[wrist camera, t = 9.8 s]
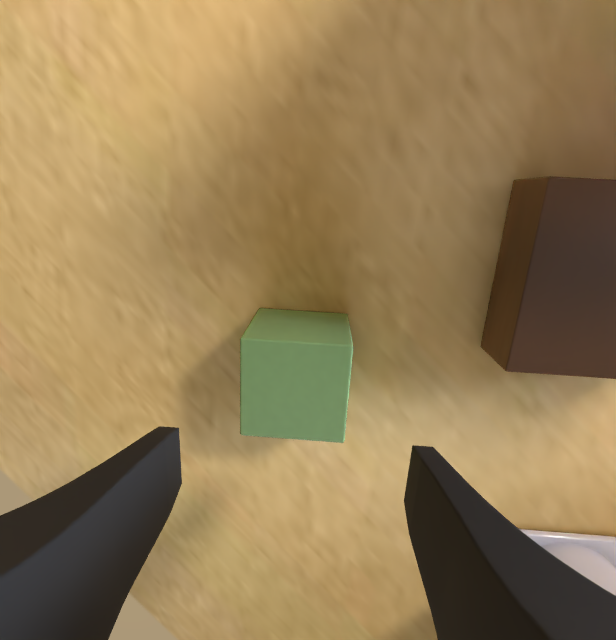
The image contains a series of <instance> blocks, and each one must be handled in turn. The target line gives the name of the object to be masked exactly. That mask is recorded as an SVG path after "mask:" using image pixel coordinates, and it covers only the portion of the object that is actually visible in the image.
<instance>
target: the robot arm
mask: <svg viewBox="0 0 616 640" xmlns="http://www.w3.org/2000/svg"><path fill="white" fill-rule="evenodd" d="M181 484H182V478H181V459H180V440H179V428H174V427H158V428H156V429H154V430H153V431H151V432H150V433H148V434H146V435H145V436H143V437H142V438H140V439H139V440H137V441H136V442H134V443H133V444H131V445H130V446H128V447H127V448H125V449H124V450H122V451H120V452H119V453H117V454H116V455H114V456H113V457H111V458H110V459H108V460H106V461H105V462H103V463H102V464H100V465H98V466H97V467H95V468H93V469H91V470H90V471H88V472H86V473H85V474H83V475H81V476H80V477H78V478H76V479H75V480H73V481H71V482H69V483H68V484H66V485H64V486H62V487H60V488H58V489H56V490H55V491H53V492H51V493H49V494H47V495H45V496H43V497H41V498H39V499H37V500H35V501H32V502H30V503H28V504H26V505H24V506H22V507H20V508H17V509H15V510H12V511H10V512H8V513H5V514H3V515H1V516H0V640H108V639H109V636H110V634H111V631H112V629H113V626H114V624H115V622H116V620H117V617H118V615H119V613H120V610H121V608H122V605H123V603H124V601H125V599H126V597H127V595H128V593H129V591H130V589H131V587H132V585H133V583H134V581H135V579H136V577H137V576H138V574H139V572H140V570H141V568H142V566H143V564H144V562H145V561H146V559H147V557H148V555H149V553H150V551H151V549H152V548H153V546H154V544H155V542H156V540H157V538H158V536H159V534H160V532H161V530H162V529H163V527H164V525H165V523H166V521H167V519H168V517H169V515H170V513H171V510H172V508H173V505H174V503H175V500H176V497H177V495H178V492H179V489H180V486H181ZM404 503H405V510H406V517H407V523H408V529H409V535H410V538H411V542H412V546H413V549H414V553H415V556H416V560H417V564H418V567H419V571H420V574H421V578H422V581H423V585H424V588H425V592H426V595H427V599H428V602H429V606H430V609H431V613H432V617H433V621H434V625H435V629H436V633H437V638H438V640H616V537H612V536H600V535H587V534H575V533H562V532H549V531H537V530H524V529H518V528H517V527H516V526H514V525H513V524H512V523H511V522H510V521H508V520H507V519H506V518H505V517H504V516H503V515H502V514H501V513H499V512H498V511H497V510H496V509H495V508H494V507H493V506H491V505H490V504H489V503H488V502H487V501H486V500H485V499H484V498H483V497H482V496H481V495H480V494H479V493H478V492H477V491H476V490H475V489H473V488H472V487H471V486H470V485H469V484H468V483H467V482H466V481H465V480H464V479H463V478H462V476H461V475H460V474H459V473H458V472H457V471H456V470H455V469H454V468H453V467H452V466H451V465H450V464H449V463H448V462H447V461H446V460H445V459H444V458H443V457H442V456H441V455H440V454H439V453H438V452H437V451H436V450H435V449H434V448H433V447H427V446H412V452H411V459H410V465H409V472H408V478H407V485H406V491H405V498H404Z"/></svg>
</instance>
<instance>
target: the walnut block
mask: <svg viewBox="0 0 616 640" xmlns="http://www.w3.org/2000/svg"><path fill="white" fill-rule="evenodd" d="M481 348H483V349H484V350H485V351H486V352H487V353H488V354H489V355H490V356H491V357H492V358H493V359H494V360H495V361H496V362H497V363H498V364H499V365H500V366H501V367H502V368H503V369H504V370H505V371H509V372H524V373H539V374H553V375H568V376H582V377H597V378H612V379H616V180H610V179H591V178H572V177H553V176H549V177H539V178H529V179H519V180H514V182H513V187H512V192H511V197H510V202H509V207H508V212H507V217H506V222H505V227H504V232H503V237H502V242H501V247H500V252H499V257H498V262H497V267H496V272H495V277H494V282H493V287H492V292H491V297H490V302H489V307H488V312H487V317H486V322H485V327H484V332H483V337H482V342H481Z"/></svg>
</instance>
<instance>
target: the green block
mask: <svg viewBox="0 0 616 640" xmlns="http://www.w3.org/2000/svg"><path fill="white" fill-rule="evenodd" d="M352 356H353V342H352V336H351V331H350V325H349V319H348V314H344V313H328V312H313V311H298V310H282V309H267V308H259V310H258V311H257V313H256V314H255V316H254V318H253V319H252V321H251V323H250V324H249V326H248V327H247V329H246V331H245V332H244V334H243V336H242V337H241V339H240V434H241V435H245V436H259V437H272V438H285V439H299V440H312V441H326V442H339V443H343V442H344V440H345V429H346V419H347V408H348V398H349V387H350V377H351V366H352Z"/></svg>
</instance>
